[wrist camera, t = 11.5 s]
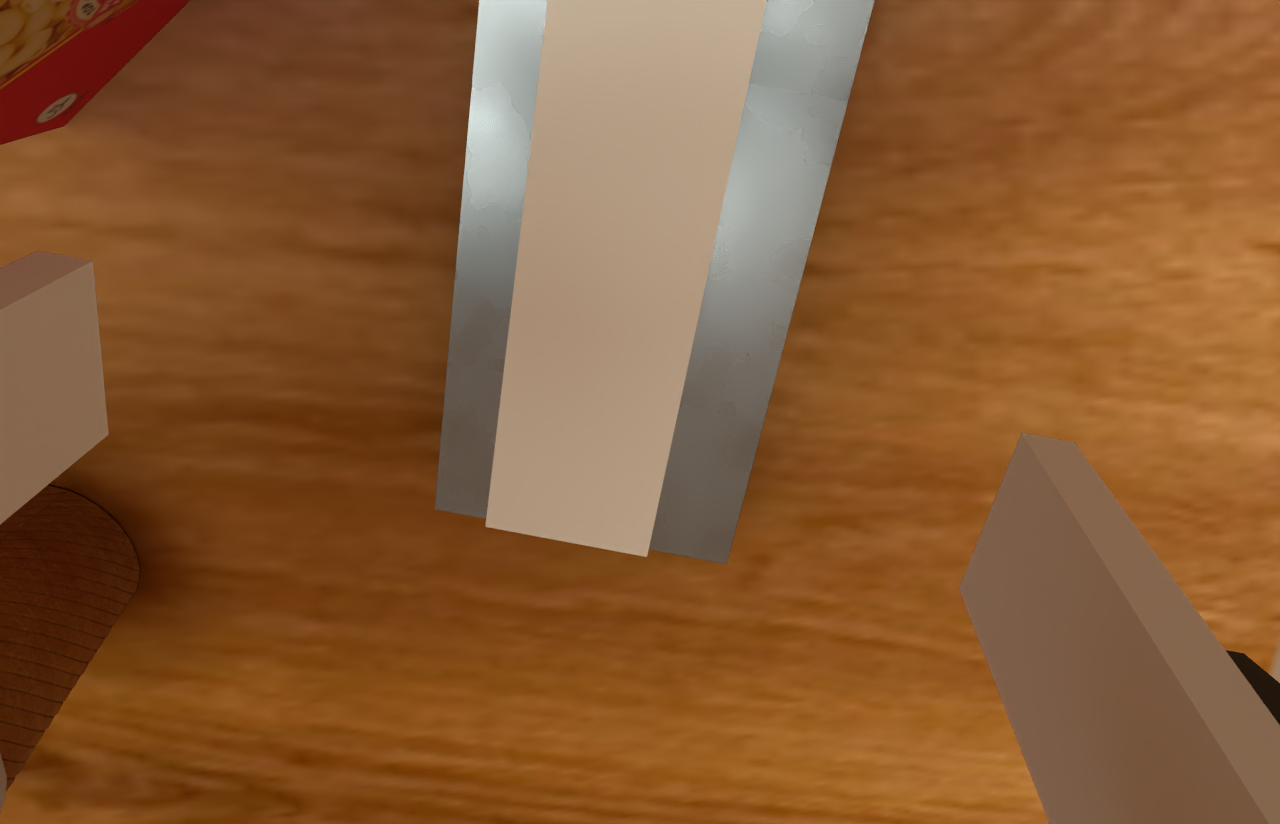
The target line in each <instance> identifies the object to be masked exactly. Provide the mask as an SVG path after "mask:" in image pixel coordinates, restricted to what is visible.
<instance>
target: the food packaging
mask: <svg viewBox="0 0 1280 824" xmlns="http://www.w3.org/2000/svg"><path fill="white" fill-rule="evenodd" d="M189 1H190V0H0V145H1V144H4V143H8V142H11V141H15V140H18V139H21V138H25V137H28V136H32V135H35V134H39V133H42V132H45V131H49V130H52V129H56V128H59V127H62V126H64V125H65V124H66V123H67V122H68V121H69V120H70V119H71V118H72V117H73V116H74V115H75V114H76V113H77V112H78V111H79V110H80V109H81V108H82V107H83V106H84V105H85V104H86V103H87V102H88V101H89V100H90V99H91V98H92V97H93V96H94V95H95V94H96V93H97V92H98V91H99V90H100V89H101V88H102V87H103V86H104V85H105V84H106V83H107V82H109V81H110V80H111V79H112V78H113V77H114V76H115V75H116V74H117V73H118V72H119V71H120V70H121V69H122V68H123V67H124V66H125V65H126V64H127V63H128V62H129V61H130V60H131V59H132V58H133V57H134V56H135V55H136V54H137V53H138V52H139V51H140V50H141V49H142V48H143V47H144V46H145V45H146V44H147V43H148V42H149V41H150V40H151V39H152V38H153V37H154V36H155V35H156V34H157V33H158V32H159V31H160V30H161V29H162V28H163V27H164V26H165V25H166V24H167V23H168V22H169V21H170V20H171V19H172V18H173V17H174V16H175V15H176V14H177V13H178V12H179V11H180V10H181V9H182V8H183V7H184V6H185V5H186V4H187V3H188V2H189Z"/></svg>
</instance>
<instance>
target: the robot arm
mask: <svg viewBox="0 0 1280 824" xmlns="http://www.w3.org/2000/svg"><path fill="white" fill-rule="evenodd" d="M108 434H109V433H108V422H107V411H106V400H105V389H104V378H103V367H102V356H101V345H100V334H99V323H98V312H97V301H96V290H95V278H94V267H93V261H91V260H85V259H80V258H75V257H69V256H64V255H58V254H53V253H48V252H42V251H36V252H34V253H31V254H29V255H27V256H25V257H23V258H21V259H19V260H17V261H14V262H12V263H10V264H8V265H6V266H4V267H2V268H0V524H1V523H3V522H4V521H5V520H6V519H7V518H9V517H10V516H11V515H12V514H13V513H15V512H16V511H17V510H18V509H19V508H21V507H22V506H23V505H24V504H25V503H27V502H28V501H29V500H30V499H31V498H33V497H34V496H35V495H36V494H37V493H39V492H40V491H41V490H42V489H43V488H45V487H46V486H47V485H48V484H49V483H51V482H52V481H53V480H54V479H55V478H57V477H58V476H59V475H60V474H61V473H63V472H64V471H65V470H66V469H68V468H69V467H70V466H71V465H72V464H74V463H75V462H76V461H77V460H78V459H80V458H81V457H82V456H83V455H84V454H86V453H87V452H88V451H89V450H90V449H92V448H93V447H94V446H95V445H96V444H98V443H99V442H100V441H101V440H102V439H104V438H105V437H106V436H107V435H108ZM959 590H960V593H961V595H962V598H963V600H964V603H965V606H966V608H967V611H968V613H969V616H970V619H971V621H972V624H973V626H974V629H975V632H976V634H977V637H978V639H979V642H980V645H981V647H982V650H983V652H984V655H985V658H986V660H987V663H988V665H989V668H990V671H991V673H992V676H993V678H994V681H995V684H996V686H997V689H998V691H999V694H1000V696H1001V699H1002V702H1003V704H1004V707H1005V709H1006V712H1007V715H1008V717H1009V720H1010V722H1011V725H1012V728H1013V730H1014V733H1015V735H1016V738H1017V741H1018V743H1019V746H1020V748H1021V751H1022V754H1023V756H1024V759H1025V761H1026V764H1027V767H1028V769H1029V772H1030V774H1031V777H1032V780H1033V782H1034V785H1035V787H1036V790H1037V793H1038V795H1039V798H1040V800H1041V803H1042V806H1043V808H1044V811H1045V813H1046V816H1047V819H1048V821H1049V824H1280V683H1279V682H1278V681H1276V680H1275V679H1274V678H1273V677H1272V676H1270V675H1269V674H1268V673H1267V672H1266V671H1264V670H1263V669H1262V668H1261V667H1260V666H1258V665H1257V664H1256V663H1255V662H1254V661H1252V660H1251V659H1250V658H1249V657H1248V656H1246V655H1245V654H1244V653H1238V652H1233V651H1227V650H1225V649H1224V648H1223V646H1222V645H1221V644H1220V642H1219V641H1218V639H1217V638H1216V637H1215V635H1214V634H1213V632H1212V631H1211V630H1210V628H1209V627H1208V626H1207V624H1206V623H1205V621H1204V620H1203V619H1202V617H1201V616H1200V615H1199V613H1198V612H1197V610H1196V609H1195V608H1194V606H1193V605H1192V604H1191V602H1190V601H1189V599H1188V598H1187V597H1186V595H1185V594H1184V593H1183V591H1182V590H1181V588H1180V587H1179V586H1178V584H1177V583H1176V581H1175V580H1174V579H1173V577H1172V576H1171V575H1170V573H1169V572H1168V570H1167V569H1166V568H1165V566H1164V565H1163V564H1162V562H1161V561H1160V559H1159V558H1158V557H1157V555H1156V554H1155V553H1154V551H1153V550H1152V548H1151V547H1150V546H1149V544H1148V543H1147V541H1146V540H1145V539H1144V537H1143V536H1142V535H1141V533H1140V532H1139V530H1138V529H1137V528H1136V526H1135V525H1134V524H1133V522H1132V521H1131V519H1130V518H1129V517H1128V515H1127V514H1126V513H1125V511H1124V510H1123V508H1122V507H1121V506H1120V504H1119V503H1118V501H1117V500H1116V499H1115V497H1114V496H1113V495H1112V493H1111V492H1110V490H1109V489H1108V488H1107V486H1106V485H1105V484H1104V482H1103V481H1102V479H1101V478H1100V477H1099V475H1098V474H1097V473H1096V471H1095V470H1094V468H1093V467H1092V466H1091V464H1090V463H1089V461H1088V460H1087V459H1086V457H1085V456H1084V455H1083V453H1082V452H1081V450H1080V449H1079V448H1078V446H1077V445H1076V444H1075V442H1070V441H1064V440H1059V439H1054V438H1048V437H1043V436H1037V435H1032V434H1027V433H1021V435H1020V438H1019V440H1018V443H1017V445H1016V448H1015V450H1014V453H1013V455H1012V458H1011V460H1010V463H1009V465H1008V468H1007V470H1006V473H1005V475H1004V478H1003V480H1002V483H1001V485H1000V488H999V490H998V492H997V495H996V497H995V500H994V502H993V505H992V507H991V510H990V512H989V515H988V517H987V520H986V522H985V525H984V527H983V530H982V532H981V535H980V537H979V540H978V542H977V545H976V547H975V550H974V552H973V555H972V557H971V560H970V562H969V564H968V567H967V569H966V572H965V574H964V577H963V579H962V582H961V584H960V587H959Z"/></svg>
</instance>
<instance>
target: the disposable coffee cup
mask: <svg viewBox="0 0 1280 824" xmlns="http://www.w3.org/2000/svg"><path fill="white" fill-rule="evenodd" d="M138 582H139V563H138V559H137V555H136V552H135V550H134V548H133V545H132V543H131V541H130V539H129V538H128V537H127V535H126V534H125V532H124V531H123V530H122V528H121V527H120V526H119V524H118V523H117V522H115V521H114V520H113V519H112V518H111V517H110V516H109V515H108V514H107V513H106V512H105V511H104V510H102V509H101V508H100V507H99V506H97V505H96V504H94V503H92V502H91V501H89V500H87V499H85V498H84V497H82V496H80V495H78V494H75V493H73V492H71V491H69V490H65V489H61V488H56V487H52V486H48V485H47V486H46V487H45V488H43V489H42V490H41V491H40V492H39V493H37V494H36V495H35V496H34V497H33V498H31V499H30V500H29V501H28V502H27V503H25V504H24V505H23V506H22V507H21V508H19V509H18V510H17V511H16V512H15V513H13V514H12V515H11V516H10V517H9V518H7V519H6V520H5V521H4V522H3V523H1V524H0V812H1V809H2V807H3V804H4V802H5V799H6V791H7V790H8V788H9V787H10V785H11V784H12V783H13V781H14V779H15V776H16V775H17V774H18V773H19V772H20V770H21V769H22V767H23V766H24V764H25V761H26V760H27V759H28V758H29V756H30V755H31V753H32V751H33V749H34V747H35V744H37V743H39V741H40V739H41V737H42V735H43V734H44V731H45V729H47V728H48V727H49V725H50V723H51V722H52V720H53V718H54V716H55V715H56V714H57V713H58V711H59V709H60V708H61V706H62V704H63V701H65V700H66V698H67V697H68V695H69V693H70V692H71V690H72V688H73V687H74V686H75V684H76V683H77V681H78V679H79V678H80V675H82V674H83V673H84V671H85V669H86V667H87V665H88V663H89V661H91V660H92V658H93V656H94V655H95V653H96V651H97V649H99V647H100V645H101V644H102V642H103V640H104V638H105V637H106V636H107V635H108V633H109V631H110V630H111V628H112V626H113V625H114V624H115V622H116V620H117V619H118V617H119V615H120V614H121V613H122V611H123V610H124V608H125V606H126V604H127V603H128V602H129V601H130V600H131V598H132V596H133V595H134V593H135V591H136V589H137V586H138Z"/></svg>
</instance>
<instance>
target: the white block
mask: <svg viewBox="0 0 1280 824" xmlns="http://www.w3.org/2000/svg"><path fill="white" fill-rule="evenodd" d="M766 1H767V0H548V1H547V10H546V18H545V27H544V35H543V44H542V52H541V61H540V69H539V77H538V86H537V94H536V103H535V111H534V120H533V128H532V137H531V145H530V154H529V162H528V170H527V179H526V187H525V196H524V204H523V213H522V221H521V230H520V238H519V246H518V255H517V263H516V272H515V280H514V289H513V297H512V306H511V314H510V323H509V331H508V339H507V348H506V356H505V365H504V373H503V382H502V390H501V399H500V407H499V415H498V424H497V432H496V441H495V449H494V458H493V466H492V475H491V483H490V491H489V500H488V508H487V517H486V525H485V527H489V528H495V529H500V530H505V531H511V532H516V533H521V534H527V535H532V536H537V537H543V538H548V539H553V540H559V541H564V542H569V543H575V544H580V545H585V546H591V547H596V548H601V549H607V550H612V551H617V552H623V553H628V554H633V555H639V556H644V557H647V555H648V550H649V545H650V541H651V536H652V531H653V527H654V522H655V517H656V513H657V508H658V503H659V499H660V494H661V489H662V485H663V480H664V476H665V471H666V466H667V462H668V457H669V452H670V448H671V443H672V438H673V434H674V429H675V424H676V420H677V415H678V410H679V406H680V401H681V396H682V392H683V387H684V383H685V378H686V373H687V369H688V364H689V359H690V355H691V350H692V345H693V341H694V336H695V331H696V327H697V322H698V317H699V313H700V308H701V303H702V299H703V294H704V290H705V285H706V280H707V276H708V271H709V266H710V262H711V257H712V252H713V248H714V243H715V238H716V234H717V229H718V224H719V220H720V215H721V211H722V206H723V201H724V197H725V192H726V187H727V183H728V178H729V173H730V169H731V164H732V159H733V155H734V150H735V145H736V141H737V136H738V131H739V127H740V122H741V118H742V113H743V108H744V104H745V99H746V94H747V90H748V85H749V80H750V76H751V71H752V66H753V62H754V57H755V52H756V48H757V43H758V38H759V34H760V29H761V25H762V20H763V15H764V11H765V6H766Z"/></svg>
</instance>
